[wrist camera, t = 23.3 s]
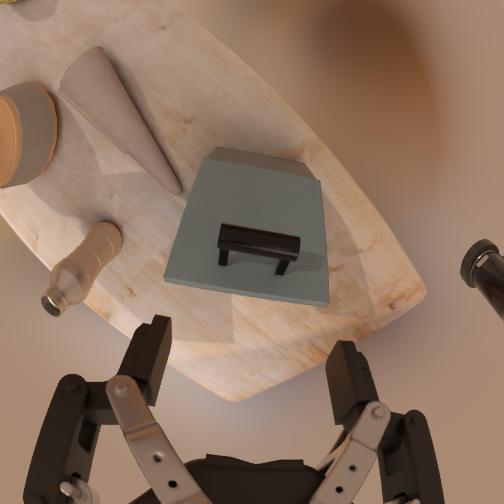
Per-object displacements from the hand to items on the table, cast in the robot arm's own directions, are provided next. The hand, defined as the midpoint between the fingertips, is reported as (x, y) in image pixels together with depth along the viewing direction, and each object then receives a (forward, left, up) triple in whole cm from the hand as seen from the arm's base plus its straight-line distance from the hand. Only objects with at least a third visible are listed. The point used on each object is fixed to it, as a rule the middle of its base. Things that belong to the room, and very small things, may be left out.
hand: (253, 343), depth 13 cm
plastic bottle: (+28, +4, -32) cm, 42 cm away
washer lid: (0, +1, -15) cm, 15 cm away
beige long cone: (+15, -13, -32) cm, 38 cm away
